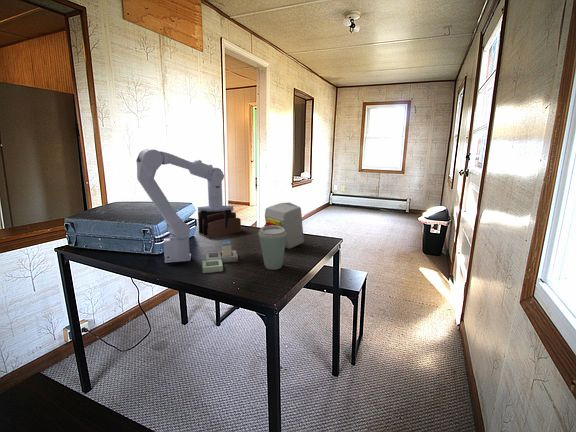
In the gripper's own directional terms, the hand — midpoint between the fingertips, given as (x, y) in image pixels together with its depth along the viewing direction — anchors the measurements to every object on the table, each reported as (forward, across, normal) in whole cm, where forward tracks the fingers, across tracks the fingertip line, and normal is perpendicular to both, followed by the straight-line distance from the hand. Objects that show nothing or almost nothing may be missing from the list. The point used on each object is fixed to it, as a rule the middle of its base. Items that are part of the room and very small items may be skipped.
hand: (216, 227), depth 128 cm
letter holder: (+11, +3, +29) cm, 31 cm away
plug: (+10, +3, -11) cm, 16 cm away
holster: (+10, -3, -20) cm, 23 cm away
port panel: (+10, +1, -11) cm, 15 cm away
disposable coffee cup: (+11, +19, -24) cm, 32 cm away
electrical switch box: (+11, +29, +1) cm, 31 cm away
